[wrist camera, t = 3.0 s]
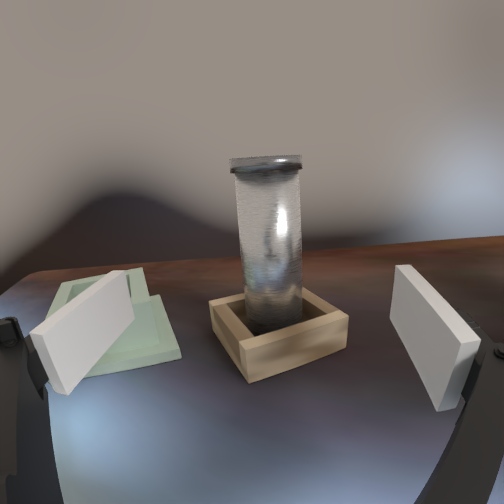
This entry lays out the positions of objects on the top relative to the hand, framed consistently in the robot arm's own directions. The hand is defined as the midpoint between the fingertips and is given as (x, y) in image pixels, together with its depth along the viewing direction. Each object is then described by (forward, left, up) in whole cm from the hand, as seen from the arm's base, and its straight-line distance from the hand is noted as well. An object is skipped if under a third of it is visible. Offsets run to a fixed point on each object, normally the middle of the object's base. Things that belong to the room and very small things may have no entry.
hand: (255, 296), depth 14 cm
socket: (+9, -15, -9) cm, 20 cm away
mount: (-5, -8, -9) cm, 13 cm away
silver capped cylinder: (-5, -8, -9) cm, 13 cm away
